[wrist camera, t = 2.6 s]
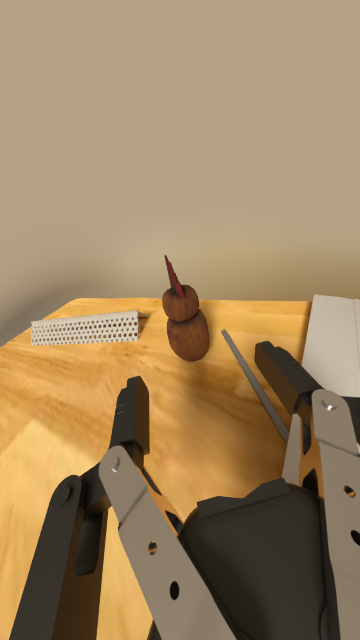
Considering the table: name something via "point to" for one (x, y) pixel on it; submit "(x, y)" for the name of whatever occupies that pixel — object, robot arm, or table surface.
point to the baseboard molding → (328, 361)
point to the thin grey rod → (258, 390)
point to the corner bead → (84, 332)
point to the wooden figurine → (184, 320)
